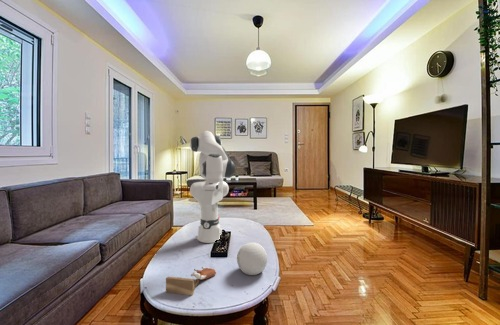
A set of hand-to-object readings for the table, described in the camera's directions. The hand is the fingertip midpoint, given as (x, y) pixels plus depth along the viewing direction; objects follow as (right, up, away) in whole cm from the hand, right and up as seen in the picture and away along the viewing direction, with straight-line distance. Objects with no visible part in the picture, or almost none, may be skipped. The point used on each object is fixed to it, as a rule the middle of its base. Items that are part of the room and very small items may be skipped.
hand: (214, 211), depth 125 cm
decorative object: (+20, -30, -7) cm, 36 cm away
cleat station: (-10, -29, -20) cm, 37 cm away
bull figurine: (-7, -27, -11) cm, 29 cm away
